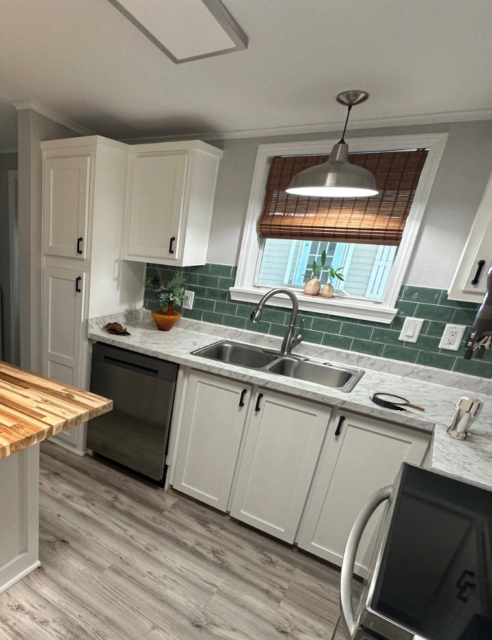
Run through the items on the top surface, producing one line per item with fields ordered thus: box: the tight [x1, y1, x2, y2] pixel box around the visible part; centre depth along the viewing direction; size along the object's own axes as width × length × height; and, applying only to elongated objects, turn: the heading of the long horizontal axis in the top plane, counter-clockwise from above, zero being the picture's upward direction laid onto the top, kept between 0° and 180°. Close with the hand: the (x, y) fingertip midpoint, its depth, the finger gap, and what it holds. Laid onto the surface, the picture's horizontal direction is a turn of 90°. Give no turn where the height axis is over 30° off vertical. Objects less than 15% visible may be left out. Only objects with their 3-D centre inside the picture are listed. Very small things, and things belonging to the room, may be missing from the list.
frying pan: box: [371, 392, 426, 412], centre depth 174 cm, size 20×13×4 cm, turn 24°
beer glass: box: [445, 395, 486, 441], centre depth 149 cm, size 7×7×15 cm
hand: (472, 358), depth 158 cm, fingers open, 8 cm apart
